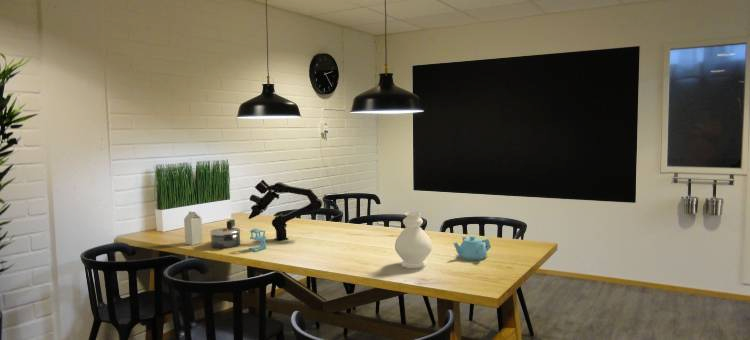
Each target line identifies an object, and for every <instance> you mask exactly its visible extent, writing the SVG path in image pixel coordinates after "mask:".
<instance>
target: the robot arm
mask: <svg viewBox="0 0 750 340" xmlns="http://www.w3.org/2000/svg"><path fill="white" fill-rule="evenodd" d="M254 188H255V190H257V191H258V192H259V193H260V194H261V195H263V194H264V195H263V196H262V197H260V196H259V195H257V194H256V195H255V194H251V195H250V197H249V201H251V202H253V203H255V204H253V205H252V206H251V207H250V209H251V213H250V215H249V216H248V219H249V220H251V219H253V218H255V217H258V216H259V215H261V214H262V213H264V211H266V210H268V206H269V205H271V203H272V202H273V201H274V200H275V199H277V200H279V199H280V194H284V193H285V194H286V193H289V194H294V195H300V196H306V197H307V199H308V200H309V203H308V204H307V205H305V206H303V207H300V208H298V209H296V210H293V211H292V212H290V213H287V214H283V213H281V214H279V215H275V216H274V218H273V219H272V221H271V226H272V227H274V230H275V238H274V240H275V241H279V242H281V241H286V240H289V239H290V238H289V237H287V225H288V224H287V222H289V221H291V220H294V219H295V218H298V217H300V216H302V215H304V214H307V213H309V212H314V211H318V210H320V209H321V208H322V206H323V200H322V199H320V198H319V197H318V196H317V195H316V194H315V193H314V191H313V190H312V189H310V188H303V187H298V186H291V185H288V184H286V183H283V182H279V181H278V182H276V183H274V184H271V185H269V184H268V183H267V182H266V181H265V180H264V179H262V180H261V181H260V182H258V183H257V184H256V185H255V186H254Z"/></svg>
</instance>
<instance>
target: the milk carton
mask: <svg viewBox="0 0 750 340" xmlns="http://www.w3.org/2000/svg"><path fill="white" fill-rule="evenodd" d="M202 223H203V222H202V217H201V216H199V214H198V213H197V212H196V211H188V213H187V215H186V216H185V217H184V220H183V224H184V239H185V244H186V245H189V246H194V245H199V244H203V243H204V241H203V224H202Z"/></svg>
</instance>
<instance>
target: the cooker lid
mask: <svg viewBox="0 0 750 340" xmlns="http://www.w3.org/2000/svg"><path fill="white" fill-rule="evenodd" d="M235 226H236V220H235V219H229V220H227V221H226V227H219V228H214V229H211V230H210V231H209V232H210V236H211V235H212V236H229V235H235V234H238V233H241V229H240V228H239V227H235Z"/></svg>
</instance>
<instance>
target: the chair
mask: <svg viewBox="0 0 750 340" xmlns="http://www.w3.org/2000/svg"><path fill="white" fill-rule="evenodd" d="M253 233H254V234H255V236H254V235H253ZM261 233H263V234H262V235H261ZM250 234H251V236H250V237H249V239H250V240H254V241H257V242H258V244H259V245H260V246H254V247H248V250H249V251H251V252H254V253H257V252H260V251H265V250H267V245H266V239H267V236H265V234H266V230H262V229H258V228H252V229H251V230H250Z"/></svg>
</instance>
